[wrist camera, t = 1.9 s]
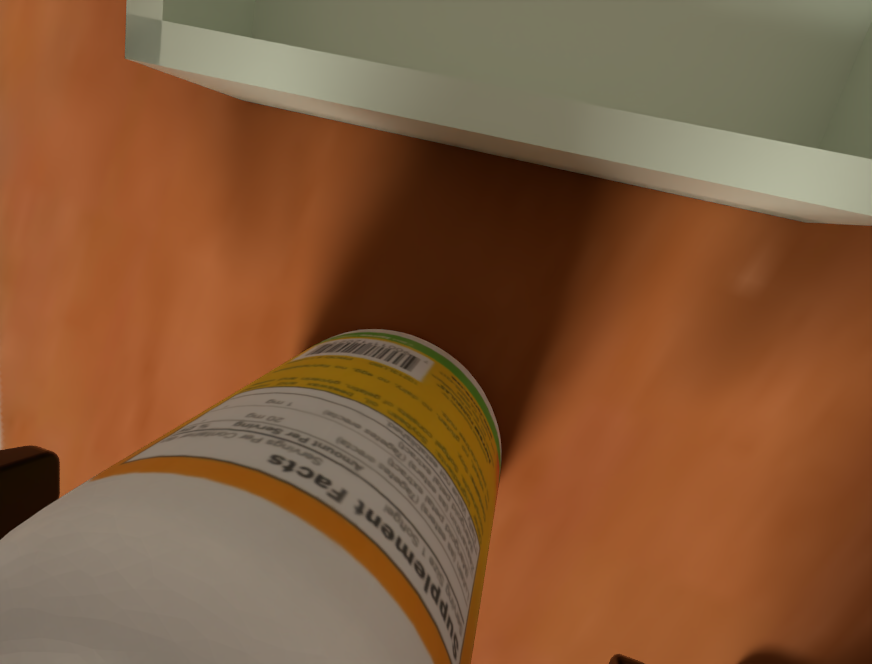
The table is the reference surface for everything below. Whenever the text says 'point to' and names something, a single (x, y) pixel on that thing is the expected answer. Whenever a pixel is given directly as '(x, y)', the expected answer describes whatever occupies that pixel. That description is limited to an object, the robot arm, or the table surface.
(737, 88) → the tray
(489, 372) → the table surface
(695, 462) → the table surface
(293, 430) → the supplement bottle
